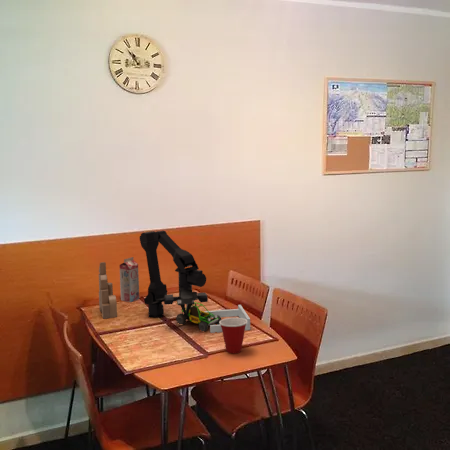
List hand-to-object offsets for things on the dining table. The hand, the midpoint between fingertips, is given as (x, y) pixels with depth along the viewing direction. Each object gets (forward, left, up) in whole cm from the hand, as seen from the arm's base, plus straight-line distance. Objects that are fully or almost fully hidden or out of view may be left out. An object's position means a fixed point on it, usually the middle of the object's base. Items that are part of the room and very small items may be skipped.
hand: (186, 317), depth 209 cm
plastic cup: (+15, -29, -4) cm, 33 cm away
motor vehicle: (+6, +2, -5) cm, 8 cm away
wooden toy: (-35, +25, -4) cm, 43 cm away
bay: (+17, 0, -4) cm, 18 cm away
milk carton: (-25, +44, -4) cm, 51 cm away
